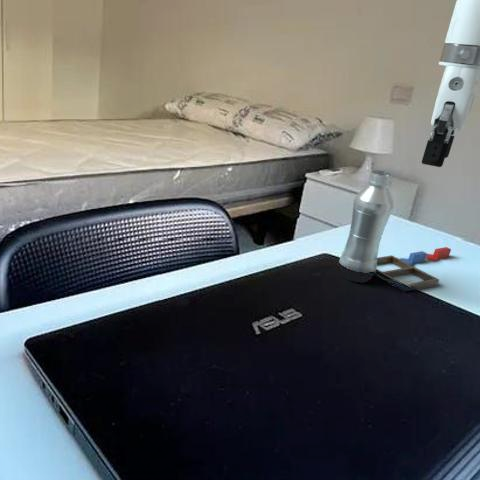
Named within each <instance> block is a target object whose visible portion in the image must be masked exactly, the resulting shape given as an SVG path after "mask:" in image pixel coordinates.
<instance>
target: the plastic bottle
mask: <svg viewBox="0 0 480 480" xmlns="http://www.w3.org/2000/svg"><path fill="white" fill-rule="evenodd" d="M393 178H394V174H393V173H392V172H388V171H385V170H377V169H373V170H370V172H369V175H368V178H367V180H366V182H367V183H368V184H367V185H366V186H364V187H363V188H362V189H361V190H359V192H358V193H357V194H356V196H355V197H354V199H353V204H352V214H351V223H350V230H349V232H348V236H347V239H346V243H345V246H344V249H343V251H342V253H341V255H340V257H339V260H338V262H339V263H340V264H341V265H342V266H344V267H346V268H347V269H350V270H353V271H356V272H363V273H369V272H374V273H375V272H376V269H377V267H378V265H377V258H378V255H379V249H380V244H381V239H382V236H383V235H384V231H385V228H386V226H387V224H388V222H389V219H390V218H391V215H392V212H393V210H394V199H393V196H392V194H391V192H390V189H389V188H390V187H391V186H392V181H393Z"/></svg>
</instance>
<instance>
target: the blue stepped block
mask: <svg viewBox="0 0 480 480" xmlns="http://www.w3.org/2000/svg"><path fill="white" fill-rule="evenodd" d="M427 254H428V253H427V252H425V251H423V250H421V251H416V252H410V253H409V256H408V258H402V257H401V258H399V259H400V260H402V261H404V262H406V263H408V264H410V265H412V266H414V265H413V264H417V263H423V262H425V261H426V259H425V258H426V255H427Z"/></svg>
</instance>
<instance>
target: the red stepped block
mask: <svg viewBox="0 0 480 480" xmlns="http://www.w3.org/2000/svg"><path fill="white" fill-rule="evenodd" d="M451 252H452V248H449V247H448V246H444V247H439V248H434V251H433V254H431V253H427V255H426V258H425V260H427V261H430V262H437V261H439V260H441V259H445V258H449V257H450V254H451Z"/></svg>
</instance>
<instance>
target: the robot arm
mask: <svg viewBox="0 0 480 480" xmlns="http://www.w3.org/2000/svg"><path fill="white" fill-rule="evenodd" d="M451 15H452V16H451V19H450V23H449V26H448V30H447V33H446V36H445V40H444V44H443V46H442V50H441V53H440V56H439V57H440V58H439V61H438V63H437V64H438V65H439V66H444V67H445V68H444V71H443V74H442V77H441V81H440V85H439V88H438V92H437V95H436V99H435V103H434V107H433V110H432V115H431V121H430V126H431V127H432V129H431V133H430V137H429V139H428V140H427V142H426V145H425V149H424V152H423V155H422V158H421V164H423V165H425V166H431V167H436V168H441V167H443V165H444V162H445V159H447V158H448V157H449V155H450V152H451V149H452V145H453V143H454V139H455V132H456V129H457V132H461V131H463V130H464V129H465V127H466V125H467V122H468V118H469V115H470V112H471V109H472V106H473V102H474V100H475V96H476V94H477V91H478V86H479V83H480V0H456V2H455V4H454V9H453V11H452V14H451Z"/></svg>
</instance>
